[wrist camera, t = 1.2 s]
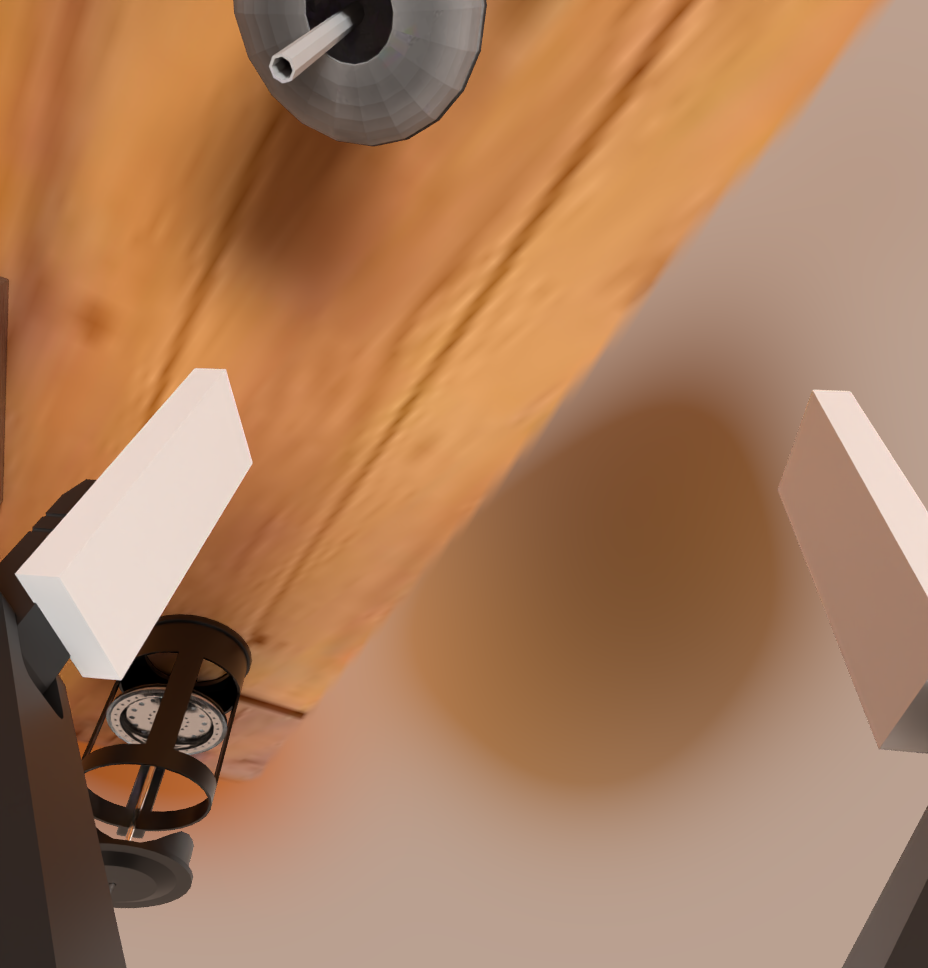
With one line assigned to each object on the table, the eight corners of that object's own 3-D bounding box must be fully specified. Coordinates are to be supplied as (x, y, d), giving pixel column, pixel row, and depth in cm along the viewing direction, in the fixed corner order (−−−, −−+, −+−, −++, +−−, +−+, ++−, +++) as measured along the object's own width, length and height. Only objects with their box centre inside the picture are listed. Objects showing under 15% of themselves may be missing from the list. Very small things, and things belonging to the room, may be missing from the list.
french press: (141, 595, 49) (-25, 958, 31) (267, 626, 52) (181, 977, 34) (119, 685, 56) (-31, 1031, 37) (232, 709, 58) (144, 1042, 40)
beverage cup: (499, 19, 29) (592, 67, 13) (374, 132, 31) (323, 289, 15) (390, -168, 25) (333, -417, 9) (257, -23, 28) (33, -26, 12)
